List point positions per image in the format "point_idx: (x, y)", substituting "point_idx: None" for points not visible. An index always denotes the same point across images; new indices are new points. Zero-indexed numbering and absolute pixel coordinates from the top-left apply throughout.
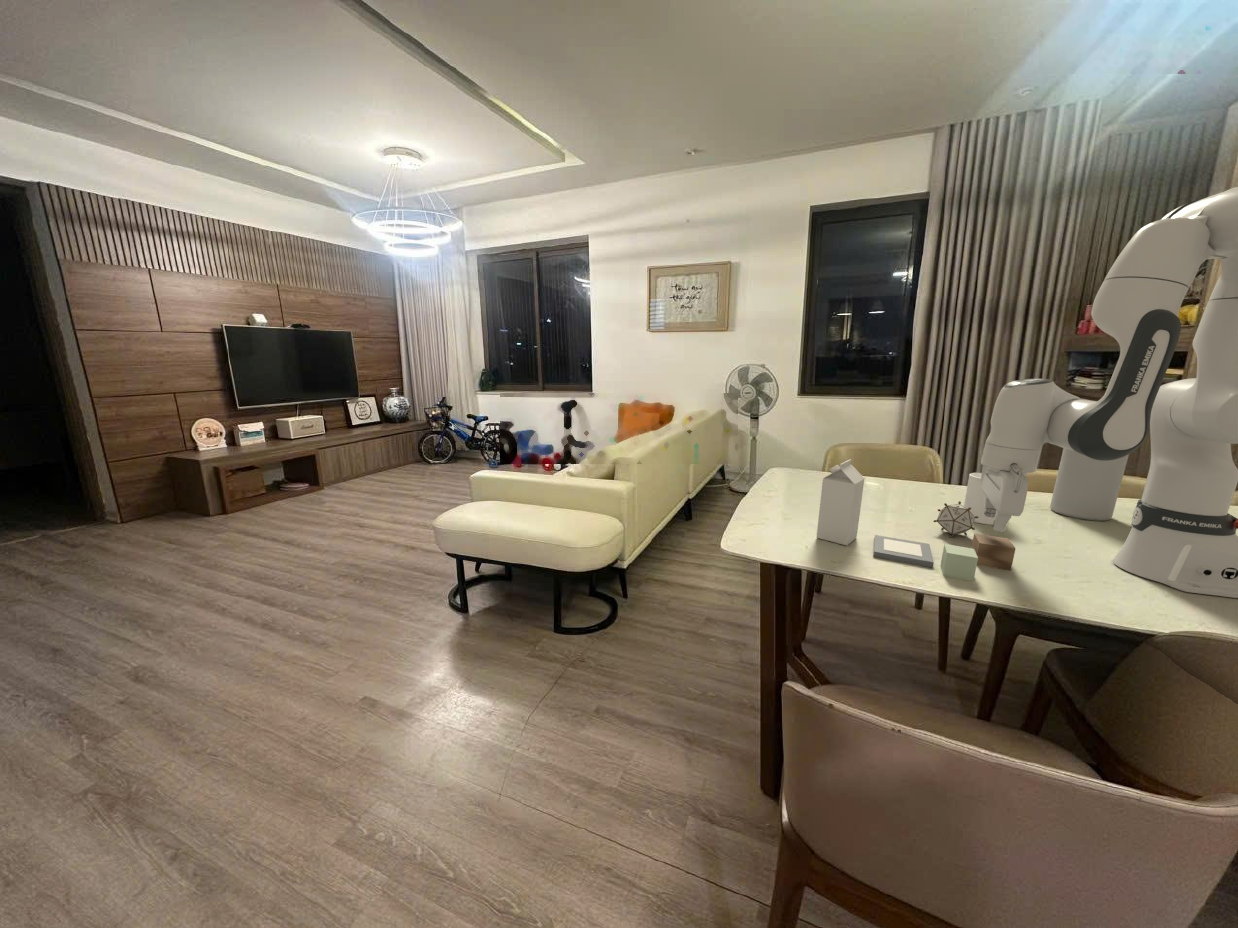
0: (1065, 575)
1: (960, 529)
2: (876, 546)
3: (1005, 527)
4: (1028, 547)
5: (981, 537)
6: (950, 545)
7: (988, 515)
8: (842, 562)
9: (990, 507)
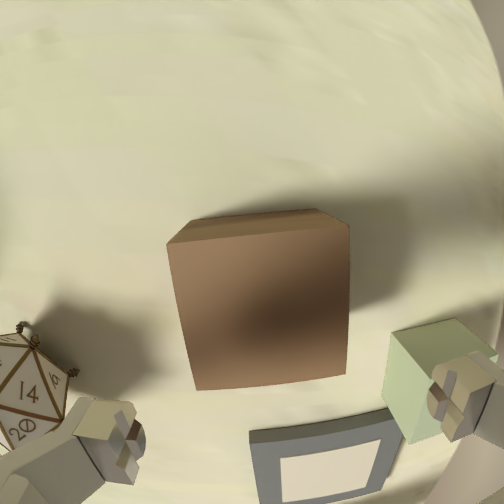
0: (242, 32)
1: (52, 371)
2: (346, 497)
3: (492, 362)
4: (7, 140)
5: (246, 368)
6: (418, 432)
7: (140, 434)
8: (419, 487)
9: (87, 467)
